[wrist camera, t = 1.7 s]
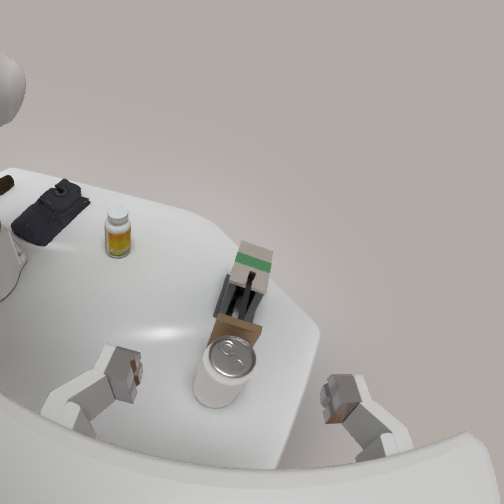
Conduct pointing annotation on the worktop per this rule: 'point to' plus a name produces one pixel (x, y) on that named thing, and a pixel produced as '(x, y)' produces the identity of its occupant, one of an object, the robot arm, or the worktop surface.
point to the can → (224, 371)
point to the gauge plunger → (237, 320)
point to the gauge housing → (235, 283)
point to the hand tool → (6, 184)
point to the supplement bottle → (117, 232)
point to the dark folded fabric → (50, 213)
